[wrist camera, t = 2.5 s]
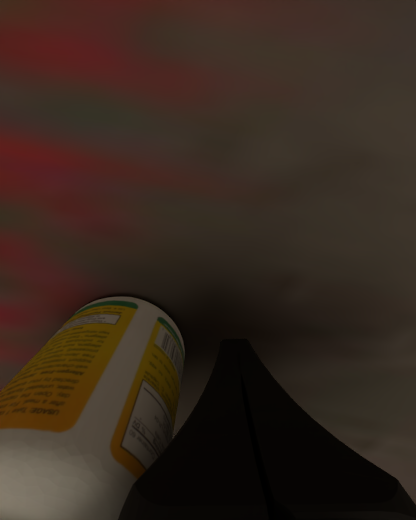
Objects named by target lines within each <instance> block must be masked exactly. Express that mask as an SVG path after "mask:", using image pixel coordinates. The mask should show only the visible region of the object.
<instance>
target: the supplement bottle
mask: <svg viewBox="0 0 416 520" xmlns="http://www.w3.org/2000/svg"><path fill="white" fill-rule="evenodd" d="M184 359H185V349H184V343H183V339H182V336H181V334H180V331H179V329H178V328H177V326H176V324H175V323H174V322H173V320H172V319H171V318H170V317H169V316H168V315H167V314H166V313H165V312H164V311H162V310H161V309H159V308H158V307H156V306H155V305H153V304H151V303H149V302H146V301H144V300H141V299H137V298H133V297H108V298H103V299H99V300H96V301H93V302H91V303H89V304H87V305H85V306H84V307H82V308H81V309H79V310H78V311H77V312H76V313H75V314H74V315H73V316H72V317H71V318H70V319H69V320H68V321H67V322H66V323H65V324H64V325H63V326H62V327H61V328H60V330H59V331H58V332H57V333H56V334H55V335H54V336H53V337H52V338H51V339H50V340H49V341H48V342H47V343H46V344H45V345H44V347H43V348H42V349H41V350H40V351H39V352H38V353H37V354H36V355H35V356H34V357H33V358H32V359H31V360H30V361H29V362H28V363H27V364H26V365H25V367H24V368H23V369H22V370H21V371H20V372H19V373H18V374H17V375H16V376H15V377H14V378H13V379H12V380H11V381H10V382H9V383H8V384H7V385H6V386H5V387H4V389H3V390H2V391H1V392H0V520H118V518H119V515H120V512H121V510H122V507H123V505H124V503H125V500H126V498H127V496H128V494H129V492H130V489H131V487H132V485H133V484H134V483H135V481H136V480H137V479H138V478H139V477H140V476H141V475H142V474H143V473H144V472H145V471H146V470H147V469H148V468H149V467H150V466H151V465H152V463H153V462H154V461H155V460H156V459H157V458H158V457H159V456H160V455H161V453H162V452H163V451H164V450H165V448H166V447H167V446H168V445H169V443H170V442H171V441H172V437H173V430H174V424H175V417H176V411H177V405H178V399H179V394H180V388H181V381H182V375H183V368H184Z"/></svg>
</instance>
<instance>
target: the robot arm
mask: <svg viewBox="0 0 416 520" xmlns="http://www.w3.org/2000/svg"><path fill="white" fill-rule="evenodd" d="M118 520H416V505H415V504H414V502H413V501H412V499H411V498H410V496H409V495H408V494H407V492H406V491H405V490H404V488H403V487H402V485H401V484H400V483H399V481H398V480H397V479H396V478H395V477H393V476H391V475H390V474H388V473H387V472H385V471H384V470H382V469H381V468H379V467H377V466H376V465H374V464H373V463H371V462H370V461H368V460H366V459H365V458H363V457H362V456H360V455H359V454H357V453H356V452H355V451H353V450H352V449H350V448H349V447H348V446H346V445H345V444H344V443H342V442H341V441H339V440H338V439H337V438H336V437H334V436H333V435H332V434H331V433H329V432H328V431H327V430H326V429H325V428H323V427H322V426H321V425H320V424H318V423H317V422H316V421H315V420H314V419H313V418H311V417H310V416H309V415H308V414H307V413H306V412H305V411H304V410H303V409H302V408H301V407H300V406H299V405H298V404H297V403H296V402H295V401H294V400H293V399H292V398H291V397H290V396H289V395H288V394H287V393H286V392H285V391H284V389H283V388H282V387H281V386H280V385H279V384H278V382H277V381H276V380H275V379H274V378H273V376H272V375H271V374H270V372H269V371H268V370H267V368H266V367H265V366H264V364H263V363H262V362H261V360H260V359H259V357H258V356H257V354H256V353H255V351H254V350H253V348H252V346H251V344H250V343H249V341H248V340H247V339H223V340H222V341H221V342H220V349H219V353H218V357H217V360H216V363H215V366H214V369H213V371H212V374H211V376H210V379H209V381H208V383H207V385H206V387H205V389H204V392H203V393H202V395H201V397H200V399H199V401H198V403H197V404H196V406H195V408H194V409H193V411H192V413H191V414H190V416H189V417H188V419H187V420H186V422H185V423H184V425H183V426H182V428H181V429H180V430H179V432H178V433H177V435H176V436H175V437H174V438H173V440H172V441H171V442H170V443H169V445H168V446H167V447H166V448H165V450H164V451H163V452H162V453H161V455H160V456H159V457H158V458H157V459H156V460H155V461H154V462H153V463H152V465H151V466H150V467H149V468H148V469H147V470H146V471H145V472H144V473H143V474H142V475H141V476H140V477H139V478H138V479H137V480H136V481H135V483H134V484H133V485H132V487H131V489H130V492H129V494H128V496H127V498H126V500H125V503H124V505H123V507H122V510H121V512H120V515H119V518H118Z"/></svg>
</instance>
